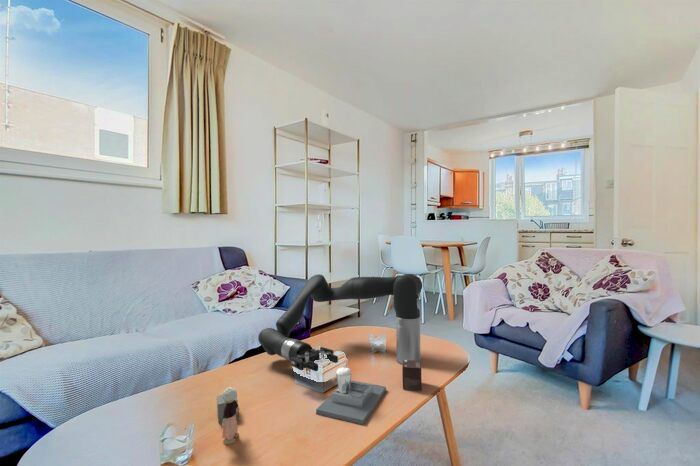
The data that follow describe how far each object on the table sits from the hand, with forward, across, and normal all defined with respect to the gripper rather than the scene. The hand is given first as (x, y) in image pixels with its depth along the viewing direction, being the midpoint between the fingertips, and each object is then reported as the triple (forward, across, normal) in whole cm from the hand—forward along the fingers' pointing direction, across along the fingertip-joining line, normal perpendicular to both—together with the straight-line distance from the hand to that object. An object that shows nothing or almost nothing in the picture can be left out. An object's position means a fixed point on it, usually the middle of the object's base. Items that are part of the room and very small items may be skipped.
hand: (327, 363), depth 106 cm
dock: (+11, 0, +8) cm, 14 cm away
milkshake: (+10, -2, +7) cm, 12 cm away
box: (+19, +20, +9) cm, 29 cm away
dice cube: (-10, -29, +9) cm, 32 cm away
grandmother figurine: (+1, -34, +8) cm, 35 cm away
